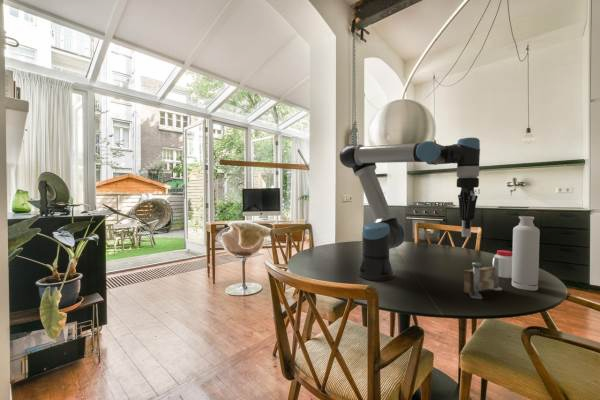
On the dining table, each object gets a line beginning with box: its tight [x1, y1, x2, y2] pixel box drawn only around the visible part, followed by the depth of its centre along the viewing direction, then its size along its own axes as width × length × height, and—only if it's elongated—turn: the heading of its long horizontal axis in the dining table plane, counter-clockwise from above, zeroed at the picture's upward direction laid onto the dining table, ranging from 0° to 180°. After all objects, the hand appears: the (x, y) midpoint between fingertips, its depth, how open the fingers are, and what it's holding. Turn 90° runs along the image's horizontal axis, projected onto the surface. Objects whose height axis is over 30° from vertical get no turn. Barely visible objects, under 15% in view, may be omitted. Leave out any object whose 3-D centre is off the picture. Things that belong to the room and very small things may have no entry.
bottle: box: [511, 215, 541, 292], centre depth 107 cm, size 8×8×28 cm
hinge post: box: [489, 257, 503, 292], centre depth 105 cm, size 4×4×12 cm
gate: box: [463, 266, 495, 294], centre depth 102 cm, size 15×2×8 cm, turn 113°
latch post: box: [468, 261, 483, 300], centre depth 98 cm, size 4×4×12 cm
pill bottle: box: [493, 249, 512, 279], centre depth 122 cm, size 8×8×11 cm
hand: (466, 236), depth 108 cm, fingers closed
